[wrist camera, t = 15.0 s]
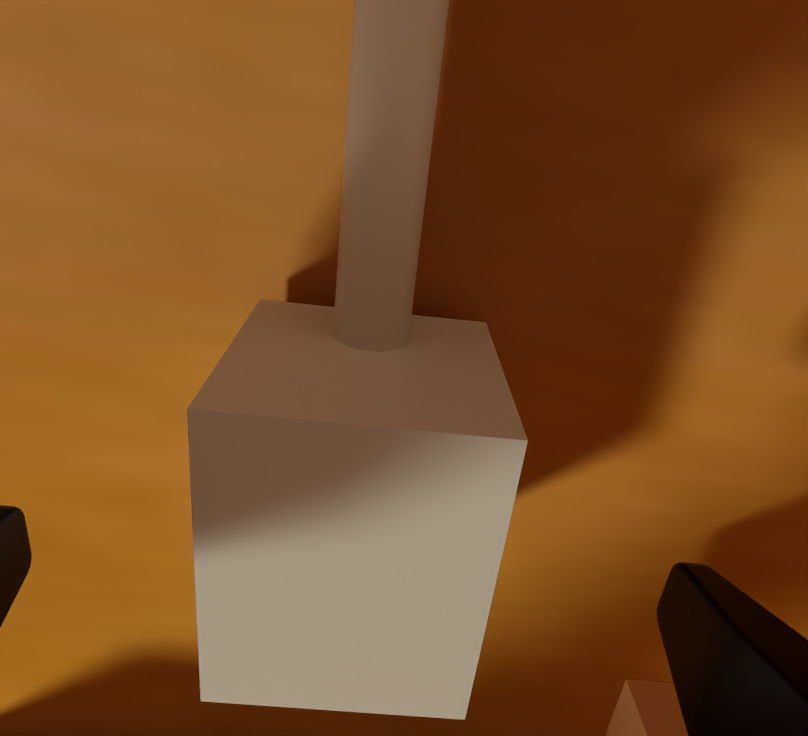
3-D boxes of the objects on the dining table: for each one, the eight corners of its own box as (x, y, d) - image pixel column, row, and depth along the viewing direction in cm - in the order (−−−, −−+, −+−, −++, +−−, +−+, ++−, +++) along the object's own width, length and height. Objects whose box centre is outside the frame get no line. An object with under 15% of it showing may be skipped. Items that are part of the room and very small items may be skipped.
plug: (447, 542, 13) (464, 719, 9) (258, 526, 13) (200, 701, 9) (557, -86, 8) (676, -218, 5) (264, -127, 8) (154, -296, 5)
